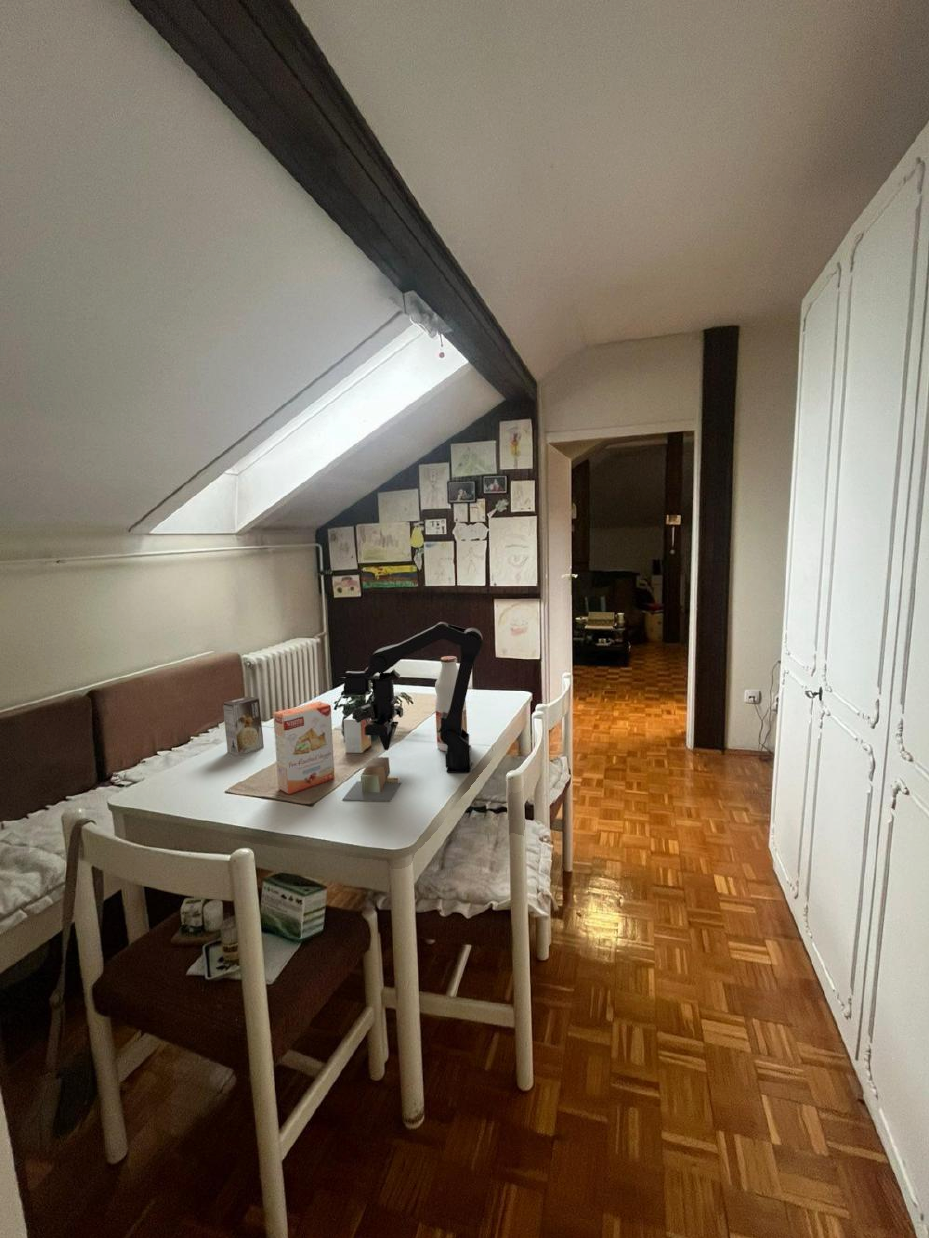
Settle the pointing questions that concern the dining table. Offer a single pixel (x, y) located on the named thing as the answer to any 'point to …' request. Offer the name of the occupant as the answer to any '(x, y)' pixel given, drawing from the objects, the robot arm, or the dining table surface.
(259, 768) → the dining table surface
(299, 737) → the cracker box
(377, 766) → the walnut block
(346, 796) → the mat
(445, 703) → the fruit juice
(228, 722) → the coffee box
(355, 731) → the small box
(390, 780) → the kerb
